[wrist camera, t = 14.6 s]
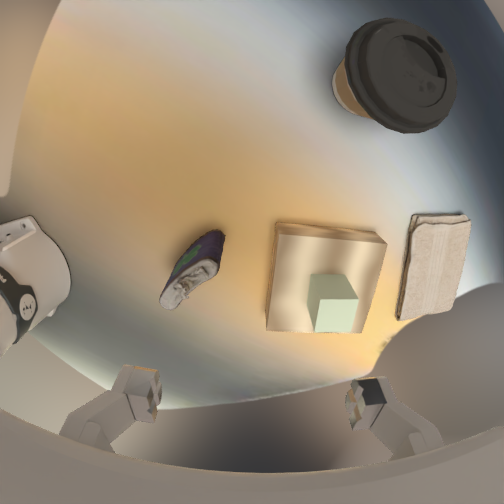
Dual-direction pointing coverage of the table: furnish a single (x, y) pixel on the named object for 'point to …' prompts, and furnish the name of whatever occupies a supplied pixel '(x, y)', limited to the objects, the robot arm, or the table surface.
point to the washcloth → (432, 264)
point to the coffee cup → (396, 76)
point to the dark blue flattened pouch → (193, 268)
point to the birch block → (319, 271)
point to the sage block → (331, 303)
